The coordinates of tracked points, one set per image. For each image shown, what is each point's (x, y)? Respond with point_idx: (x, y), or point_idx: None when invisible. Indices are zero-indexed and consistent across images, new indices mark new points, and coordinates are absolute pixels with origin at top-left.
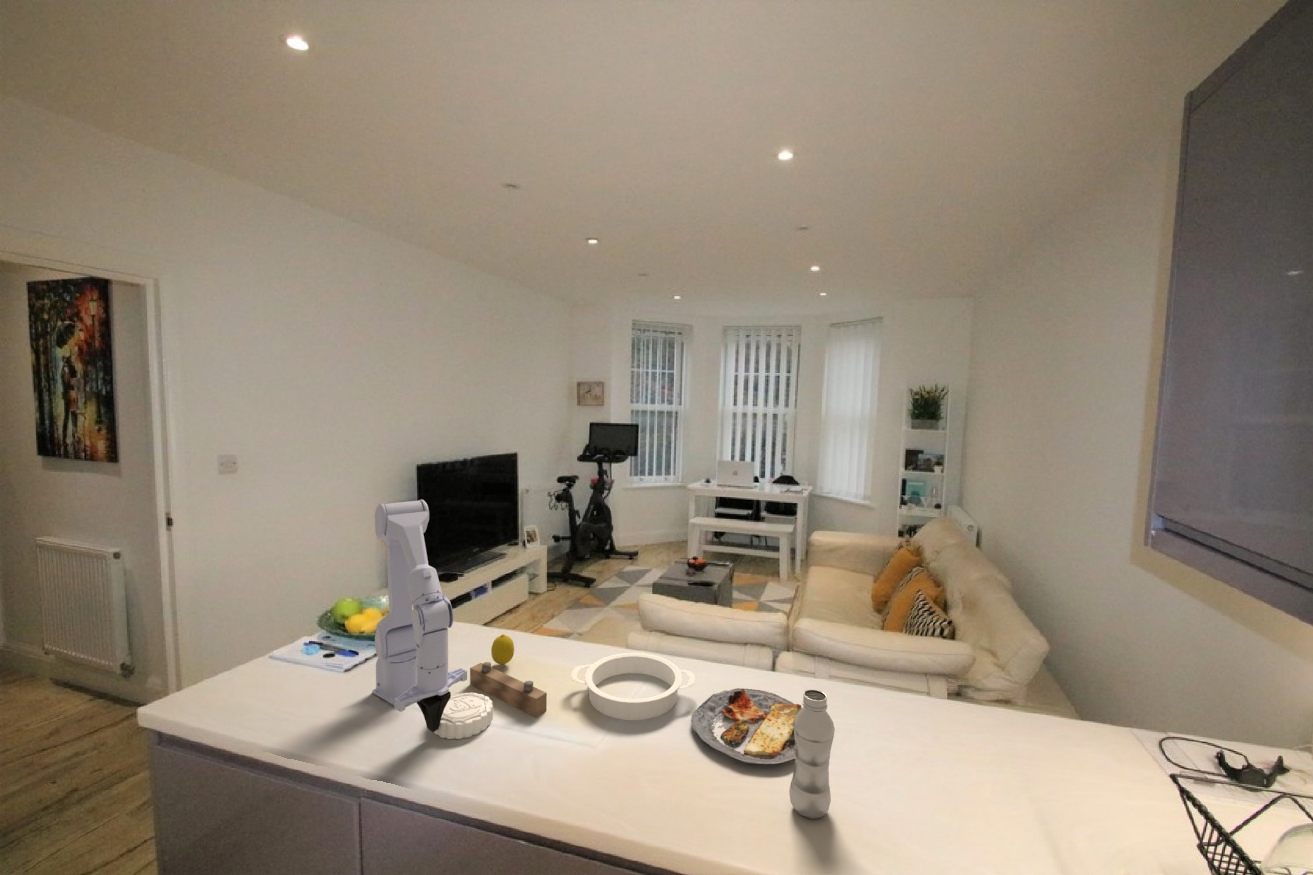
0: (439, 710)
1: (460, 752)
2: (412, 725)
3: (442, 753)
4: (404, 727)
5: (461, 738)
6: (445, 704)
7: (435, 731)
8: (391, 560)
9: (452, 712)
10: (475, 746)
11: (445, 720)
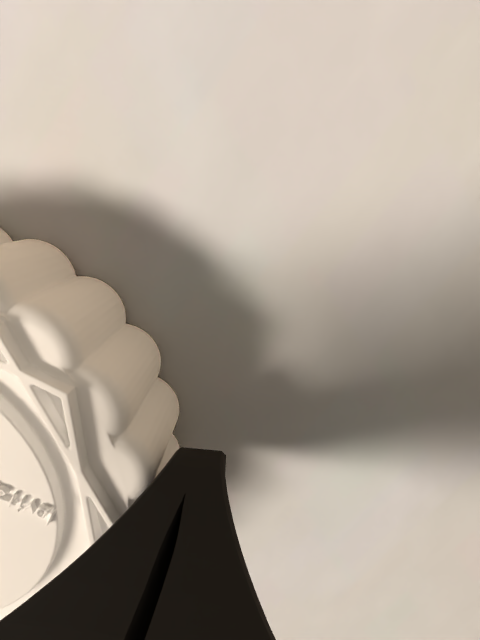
0: (132, 596)
1: (197, 148)
2: None
3: (280, 257)
4: None
5: (95, 280)
6: (10, 635)
7: None
8: None
9: (2, 496)
10: (79, 105)
11: (101, 467)
